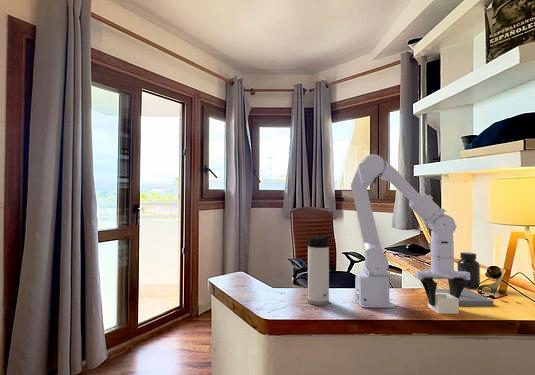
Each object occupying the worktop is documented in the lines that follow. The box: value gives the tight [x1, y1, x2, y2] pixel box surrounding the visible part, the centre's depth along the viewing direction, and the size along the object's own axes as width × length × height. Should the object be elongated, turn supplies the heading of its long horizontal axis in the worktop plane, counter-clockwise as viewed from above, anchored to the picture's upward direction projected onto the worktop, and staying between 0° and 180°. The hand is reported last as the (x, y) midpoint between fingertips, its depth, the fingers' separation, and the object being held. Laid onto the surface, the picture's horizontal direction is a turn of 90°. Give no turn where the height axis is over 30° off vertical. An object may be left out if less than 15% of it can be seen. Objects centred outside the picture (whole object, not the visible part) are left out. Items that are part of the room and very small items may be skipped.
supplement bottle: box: [457, 251, 481, 290], centre depth 114 cm, size 7×7×12 cm
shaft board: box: [424, 288, 494, 307], centre depth 99 cm, size 14×12×6 cm
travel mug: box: [307, 234, 331, 306], centre depth 96 cm, size 6×7×20 cm
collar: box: [427, 293, 460, 315], centre depth 89 cm, size 6×6×4 cm
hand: (442, 305), depth 89 cm, fingers closed on collar, 6 cm apart
